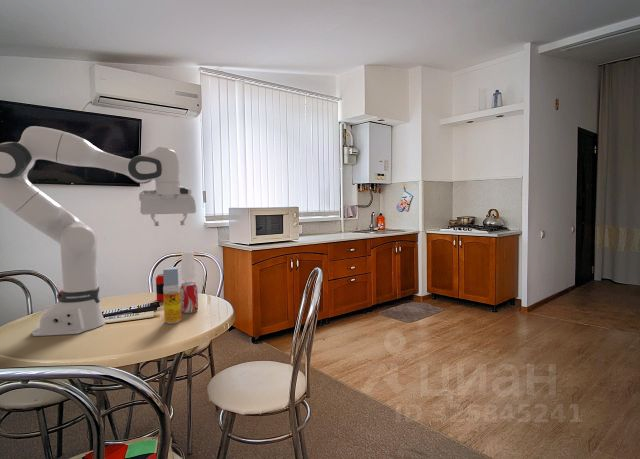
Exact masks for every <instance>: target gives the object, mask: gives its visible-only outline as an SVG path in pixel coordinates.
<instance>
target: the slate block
mask: <svg viewBox="0 0 640 459" xmlns="http://www.w3.org/2000/svg"><path fill="white" fill-rule="evenodd" d="M162 272H163V273H162V274H163V276H164V286H166V285H178V283H180V282H179V267H178V266H173V267H172V266H170V267H164V268H163V270H162Z"/></svg>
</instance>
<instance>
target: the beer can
mask: <svg viewBox="0 0 640 459" xmlns="http://www.w3.org/2000/svg"><path fill="white" fill-rule="evenodd" d="M180 288H181V285H180V282H178V285H166V286H164V287H163V296H164V302H163V309H164V310H163V312H164V313H163V314H164V315H163V316H164V317H163V318H164V322H165V323H166V324H168V325H173V324H178V323H180V322H181V321H182V311H181V296H180Z"/></svg>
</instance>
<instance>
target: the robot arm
mask: <svg viewBox="0 0 640 459" xmlns="http://www.w3.org/2000/svg"><path fill="white" fill-rule="evenodd" d="M37 160H45V161H50V162H54V163H58V164H62V165H67V166H74V167H82V168H83V167H85V168H87V167H88V168H98V169H103V170H107V171H109V172H113V173H118V174H122V175H124V176H126V177H128V178H129V179H131V180H132V181H134V182H135V183H137V184H142V185H143V184H148V183H150V182H152V181H153V180H154V182H155V190H153V189H151V190H147V189H146V190H142V191H141V192H140V193H139V194H138V200H139V201H140V214H141V215H146V216H147V215H150V218H151V220H152V221H153V224H154V227H159V226H160V225H159V223H160V222H159V221H158V220H156V219H155V217H156V215H179V214H180V215H181V214H182V216H183V219H182V220H180V224H179V225H180V226H185V221H186V219H187V218H188V215H187V214H195V213H197V208H196V200H195V198H194V196H193V195H192V194H193V190H192V189H191V188H187V187H186V186H181V184H180V183H181V180H180V178H179V174H180V161H179V156H178V153H177V152H176V151H175V150H173V149H171V148H167V147H161V146H160V147H156V148H154V149H153V150H151V151H149V152H147V153H143V154H140V155H136V156H134V157H132V158H126V157H124V156H123V157H122V156H119V155H115V154H113V153H109V152H106V151H104V150H101V149H100V148H98V147H97V146H95V145H93V143H91V142H90V141H89V140H87V139H85V138H83V137H80V136H78V135H76V134H73V133H71V132H66V131H63V130H60V129H55V128H50V127H45V126H37V125H34V126H33V125H31V126H28V127H26V128H25V129H24V130H23V131H22V134H21V137H20V139H19V141H5V142H1V143H0V204H2V205H3V206H4V207H5V208H7V209H8V210H9V211H10V212H12V213H13V214H14V215H15V216H17V217H18V218H20V219H22V220H23V221H24V222H26V223H28V224H29V225H31V227H33V228H35V229H36V230H38V231H39V232H41V233H43V234H44V235H46V236H47V237H49V238H50V239H52V240H53V241H55V242H56V243H58V244H59V245H60V257H61V259H60V260H61V275H62V278H61V279H62V289H61V290H60V291H59V292H58V293H57V295H56V299H57V302H56V303H55V304H53V305H52V306H51V307H49V308H47V309H46V311H45V312H44V313H42V315H41V317H40V320H39V325H38V326H36V327H35V328H34V329H33V330H32V332H31V335H32V336H33V337H43V336H45V337H46V336H60V335H62V336H63V335H77V334H81V333H84V332H87V331H89V330H93V329H97V328H99V327H101V326H103V325H104V324H105V323H106V321H105V318H104V315H103V312H102V309H101V290H100V286H99V281H98V245H97V243H98V242H97V239H98V238H97V234H96V231H94V230H93V228H92V227H90V226H89V225H87V224H86V223H84V222H83V221H82V220H80V219H79V218H78V217H77V216H76V215H74V214H73V213H71V212H70V211H68V209H66V208H64V207H63V206H62V205H61V204H59V203H58V202H56V201H55V200H54V199H53V198H51V197H50V196H49V195H48V194H46V193H45V192H44V191H42V190H41V189H39V188H38V187H37V186H35V185H34V184H33V183H32V182H31V181H30V180H29V178H28V177H30V175H31V173H32V172H33V170H34V168H35V166H36V163H37Z"/></svg>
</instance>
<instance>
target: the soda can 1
mask: <svg viewBox="0 0 640 459" xmlns="http://www.w3.org/2000/svg"><path fill="white" fill-rule="evenodd" d="M163 287H164V276H163V273H159V274H158V275H157V276H156V278H155V292H156V301H157V302H163V303H164V296H163Z"/></svg>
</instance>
